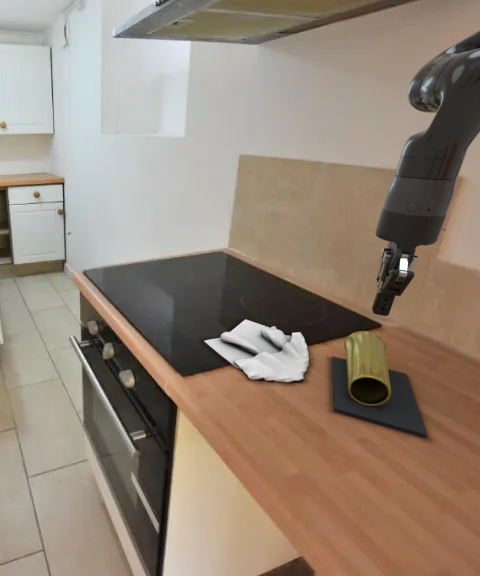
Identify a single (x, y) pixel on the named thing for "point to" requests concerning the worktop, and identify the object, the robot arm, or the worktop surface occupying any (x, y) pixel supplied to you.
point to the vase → (367, 368)
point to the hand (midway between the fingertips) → (379, 313)
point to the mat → (392, 414)
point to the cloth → (263, 352)
